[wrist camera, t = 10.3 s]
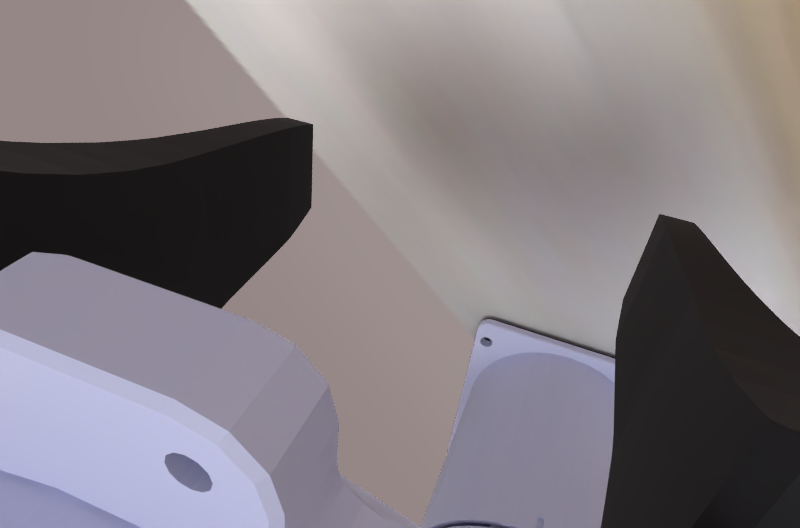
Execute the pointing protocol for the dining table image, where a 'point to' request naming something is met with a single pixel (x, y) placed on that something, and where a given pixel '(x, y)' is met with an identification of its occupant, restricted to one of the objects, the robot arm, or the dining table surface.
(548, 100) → the dining table surface
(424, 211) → the dining table surface
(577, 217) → the dining table surface
